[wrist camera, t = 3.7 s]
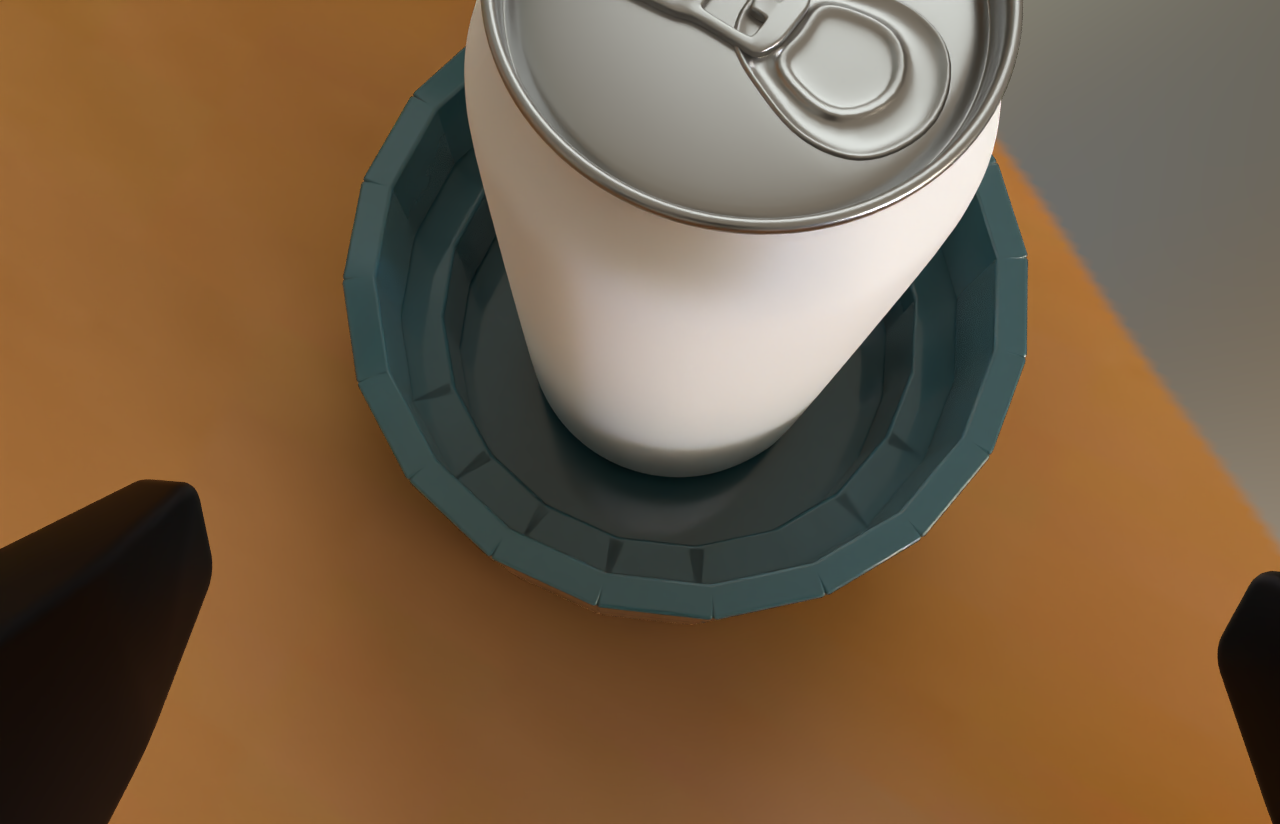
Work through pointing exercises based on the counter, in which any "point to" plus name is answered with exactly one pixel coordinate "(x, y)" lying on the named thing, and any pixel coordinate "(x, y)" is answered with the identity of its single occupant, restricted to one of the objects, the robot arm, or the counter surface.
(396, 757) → the counter surface
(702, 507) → the bowl
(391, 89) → the counter surface
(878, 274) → the can
